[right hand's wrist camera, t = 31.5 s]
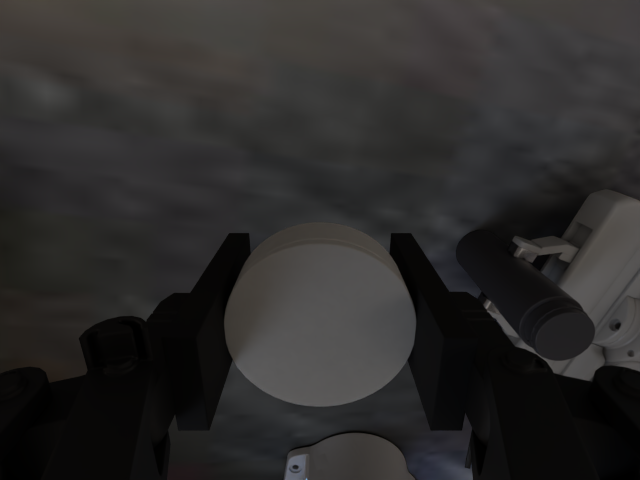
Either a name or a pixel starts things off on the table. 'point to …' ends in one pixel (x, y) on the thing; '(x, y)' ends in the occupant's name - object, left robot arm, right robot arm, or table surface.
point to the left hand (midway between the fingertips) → (495, 274)
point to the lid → (320, 316)
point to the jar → (526, 298)
